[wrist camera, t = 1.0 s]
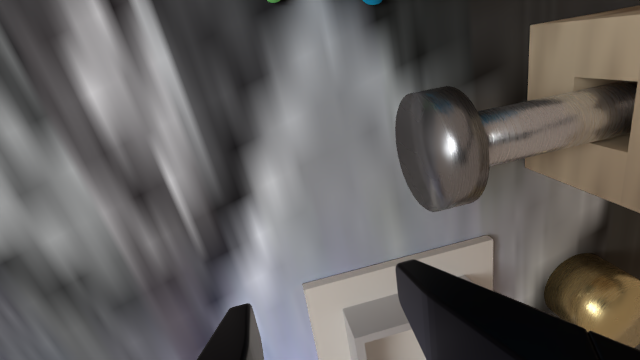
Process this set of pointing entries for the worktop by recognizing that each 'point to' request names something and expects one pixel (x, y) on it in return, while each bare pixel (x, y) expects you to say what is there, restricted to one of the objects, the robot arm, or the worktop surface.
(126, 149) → the worktop surface
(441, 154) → the shaft
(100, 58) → the worktop surface
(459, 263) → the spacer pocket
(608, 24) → the bearing block
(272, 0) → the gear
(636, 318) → the cylinder
